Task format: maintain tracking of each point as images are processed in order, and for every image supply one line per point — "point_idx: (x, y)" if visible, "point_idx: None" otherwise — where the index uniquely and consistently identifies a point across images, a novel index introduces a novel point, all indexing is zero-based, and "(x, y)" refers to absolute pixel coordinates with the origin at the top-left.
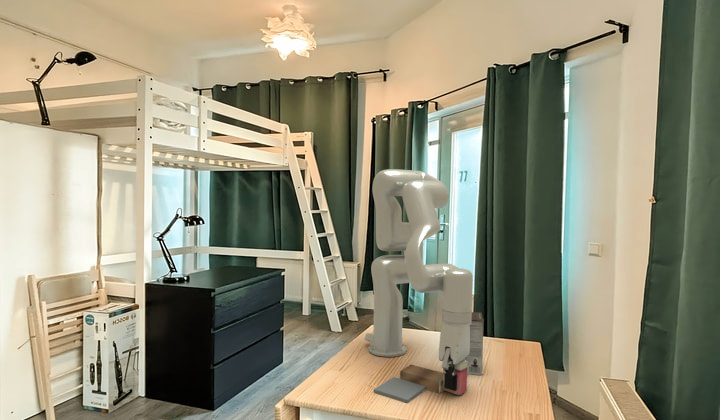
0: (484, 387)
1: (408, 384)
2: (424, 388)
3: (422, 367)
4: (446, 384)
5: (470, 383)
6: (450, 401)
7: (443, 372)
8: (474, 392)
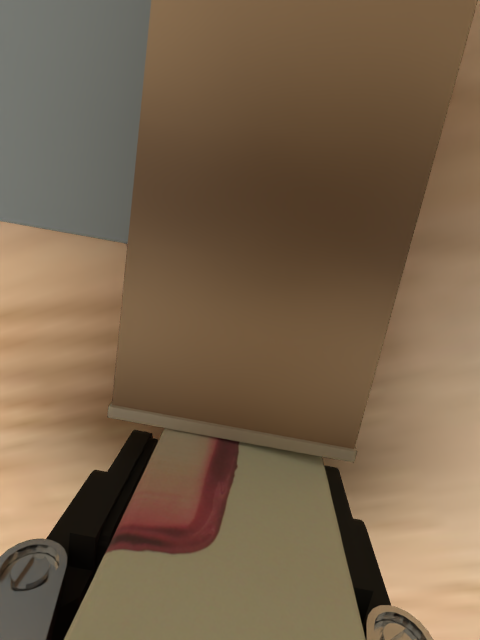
0: None
1: (96, 62)
2: (118, 241)
3: (453, 87)
4: (92, 476)
5: (445, 531)
6: (61, 463)
7: (136, 488)
8: None
